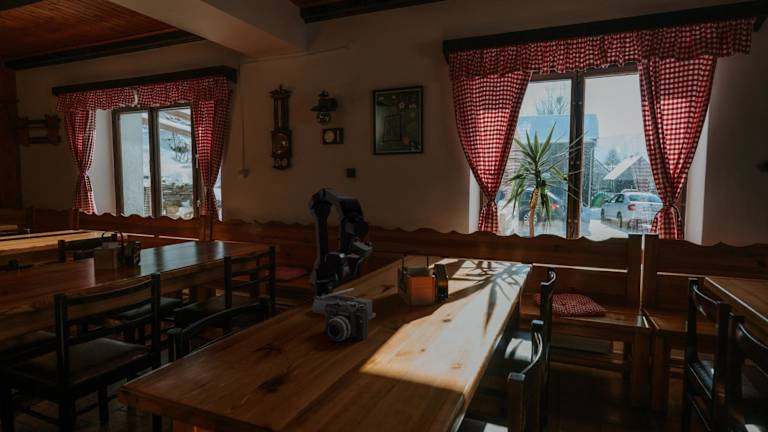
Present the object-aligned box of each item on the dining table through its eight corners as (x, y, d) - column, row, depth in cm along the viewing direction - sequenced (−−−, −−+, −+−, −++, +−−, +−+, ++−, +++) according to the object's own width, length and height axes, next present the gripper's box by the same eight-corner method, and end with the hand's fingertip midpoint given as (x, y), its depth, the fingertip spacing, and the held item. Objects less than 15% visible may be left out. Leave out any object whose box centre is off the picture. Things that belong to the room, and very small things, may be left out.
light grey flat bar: (319, 298, 160) (319, 297, 160) (323, 297, 162) (322, 295, 162) (350, 290, 154) (349, 289, 154) (353, 289, 156) (353, 287, 156)
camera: (309, 338, 131) (310, 305, 131) (331, 328, 141) (331, 297, 140) (351, 348, 125) (351, 312, 124) (371, 336, 134) (371, 303, 134)
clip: (352, 313, 153) (352, 300, 153) (358, 310, 157) (358, 297, 156) (366, 315, 151) (366, 302, 150) (372, 312, 154) (372, 299, 154)
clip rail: (348, 316, 153) (348, 313, 153) (355, 312, 158) (356, 309, 158) (368, 320, 150) (368, 317, 149) (376, 316, 154) (376, 313, 154)
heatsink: (310, 311, 158) (310, 297, 157) (327, 305, 166) (327, 291, 166) (346, 318, 151) (347, 304, 150) (362, 311, 159) (362, 297, 159)
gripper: (353, 239, 143) (353, 287, 144) (381, 233, 159) (380, 276, 160) (324, 236, 148) (324, 283, 149) (353, 231, 164) (353, 273, 165)
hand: (347, 279), depth 156 cm, fingers open, 7 cm apart
